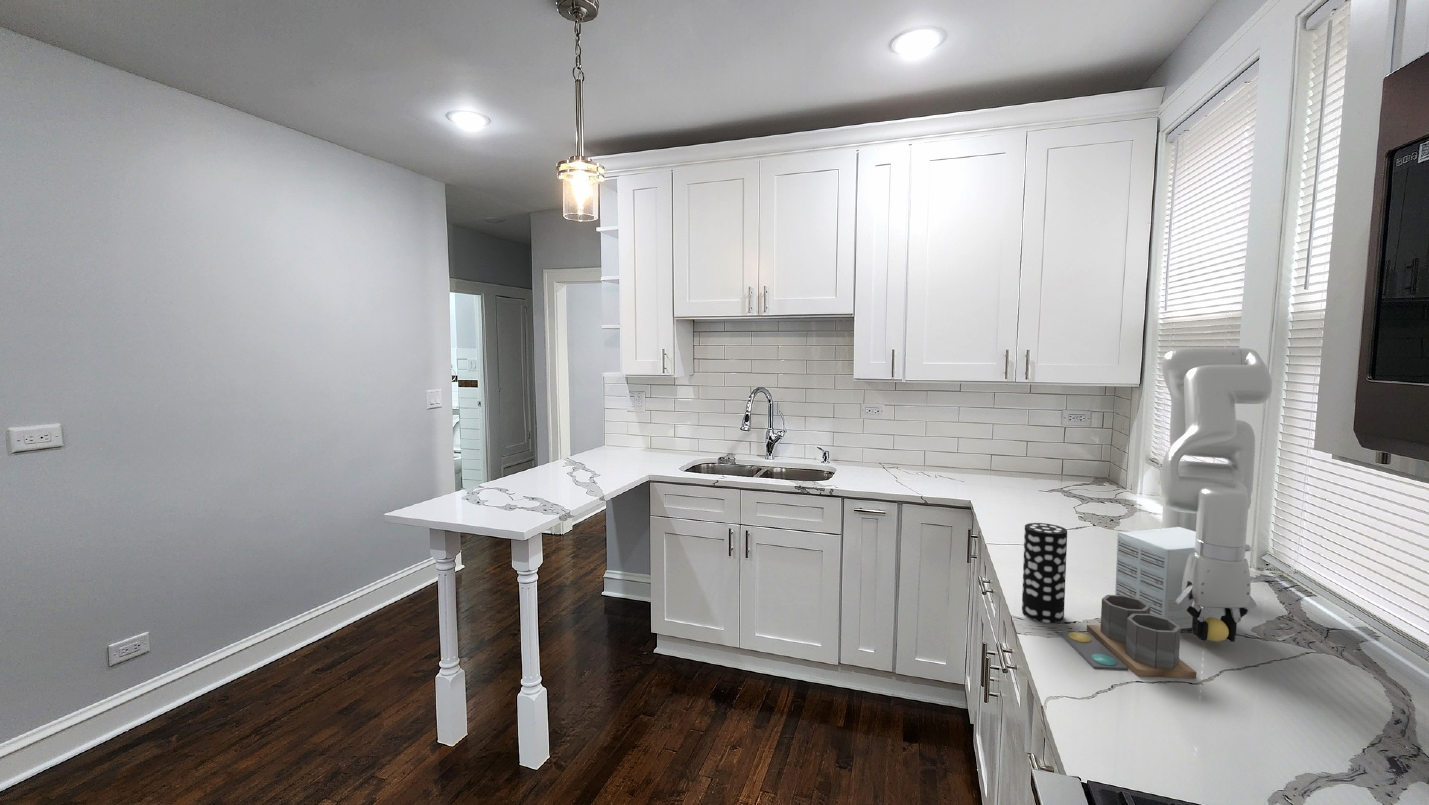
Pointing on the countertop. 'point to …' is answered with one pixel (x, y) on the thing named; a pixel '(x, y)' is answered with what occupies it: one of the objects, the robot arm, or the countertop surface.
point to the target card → (1093, 651)
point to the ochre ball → (1216, 629)
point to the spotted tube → (1044, 572)
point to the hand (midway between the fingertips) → (1213, 637)
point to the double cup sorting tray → (1140, 638)
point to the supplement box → (1157, 570)
